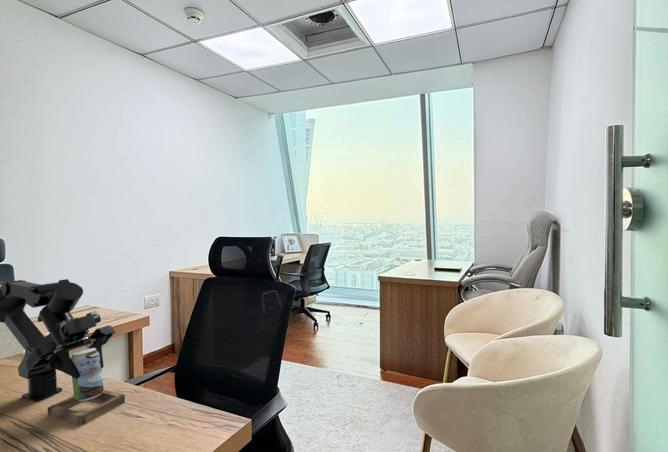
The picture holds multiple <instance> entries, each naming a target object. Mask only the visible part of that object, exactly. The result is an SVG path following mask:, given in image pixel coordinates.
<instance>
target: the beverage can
mask: <svg viewBox="0 0 668 452" xmlns="http://www.w3.org/2000/svg"><path fill="white" fill-rule="evenodd" d="M70 358H71V360H72V361H73V363H74V365H75V366H76V368H77V369H78V371H79V374H80V377H79V378H78V379H76V378H74V377H72V376H71V380H72V381H71V382H72V388H73V396H74V399H75V400H79V401H83V402H85V401H89V400H93V399H95V397H97V396H99V395H100V394H101V392H102V391H103V390H105V389H104V381H103V380H104V379H103V373H102V372H103V371H102V369H101V363H100V354H99V352H98V351H97V350H96V348H89V349H88V348H85V349H81V350H78V351H75V352H73V353H72V355H71V356H70Z"/></svg>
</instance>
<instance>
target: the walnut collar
mask: <svg viewBox="0 0 668 452" xmlns="http://www.w3.org/2000/svg"><path fill="white" fill-rule="evenodd" d="M125 395H126V394H122V393H119V392H116V391H115V392H114V391H111V390H106V389H104V390H103V391H102V392H101V394H100V395H99V396H97V397H95V398H94V399H95V400H100V401H103V403H100V404H99V405H96V406H95V407H93V408H91V409H89V410H87V411H85V412H81V411H76V410H74V409H73V410H72V409H70V408H72V407H75V406H77V405H78V404H81V403H83V402H84V401H79V400H75V399H74V395H72V396H70V397H67V398H66V399H63V400H62V401H59V402H57V403H55V404H53V405H50V406H48V407H47V416H48V417H50V418H54V419H58V420H62V421H66V422H68V423H72V424H75V425H79V426H83V425H85V424H87V423H89V422H91V421H93V420H94V419H97V418H99V417H100V416H102V415H104V414H106V413H107V412H110V411H111V410H113V409H115V408H117V407H119V406H121V405H123V404H125V402H126V400H125V399H126V397H125Z"/></svg>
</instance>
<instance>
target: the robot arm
mask: <svg viewBox="0 0 668 452" xmlns="http://www.w3.org/2000/svg"><path fill="white" fill-rule="evenodd" d="M83 294H84V289H83V287H82V286H80V285H79V284H77V283H75V282H71V281H70V280H69V279H68V278H65V279H60V280H58V282H51V283H45V284H44V283H43V284H40V283H36V282H29V281H26V280H23V279H20V280H18V279H17V280H11V281H5V282H2V283H1V284H0V323H3V324H5V325H6V327H7V328H8V330H9V331H10V332H11V334H12V336H14V337H15V339H16V340H17V342H18V343H19V344H20V346H21V347H22V348H23V350H24V353H23V358H22V360H21V362H20V363H19V364H18V367H17V373H18V376H19V377H21V378H24V379H26V380H27V391H28V392H27V393H25V394H22V395H21V398H22V399H26V400H30V401H34V402H39V401H40V400H43V399H45V398H48V397H51V396H53V395H56V394H57V393H59V392H62V391H63V388H62V387H58V385H57V384H58V382H57V379H58V378H57V371H59V372H62V373H64V374H66V375H69V376H70V377H71V378H72V377H74V378H76V379H78V378H79V377H80V374H79V371H78V369H77V368H76V366H75V365H74V363H73V361H72V360H71V356H70V351H71V350H74V349H78V348H81V347H84V346H85V347H86V349H89V348H96V350H97V351H98V352H99V354H100V363H101V370H102V369H103V368H104V358H103V352H102V351H103V346H104V345H106V344H107V343H108V342H109V340H110V339H111V338H112V337H113V335H114V334H115V333H116V330H115V329H114V327H113V326H112V325H106V326H102V327H101V326H100V327H99V328H96V327H97V324H99V323H101V322H102V319H101V315H100V314H99V312H98V311H97V310H93V311H90V312H89V313H86V315H84V316H80V317H74V316H73V315H72V313H71V311H73V310H74V309H75V307H76V306H77V304H78V303H79V301H80V299H81V298H82V296H83ZM26 306H29V307H31V308H32V309H34V308H40V307H42V309H40V311H39V313H38V317H37V322H38V323H40V322H42V323H43V325H44V326H45V328H46V330H47V331H48V334H47V335H44V334H43V333H42V332H41V331H40V328H38V327H37V325H35V323H34V322H33V320H32V319H31V318H30V317H29V316H28V315H27V313H26V312H25V307H26ZM92 328H96V329H95V330H94V331H93V332H92V334H91V335H89V336H86V335H88V334H89V333H90V329H92Z"/></svg>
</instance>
